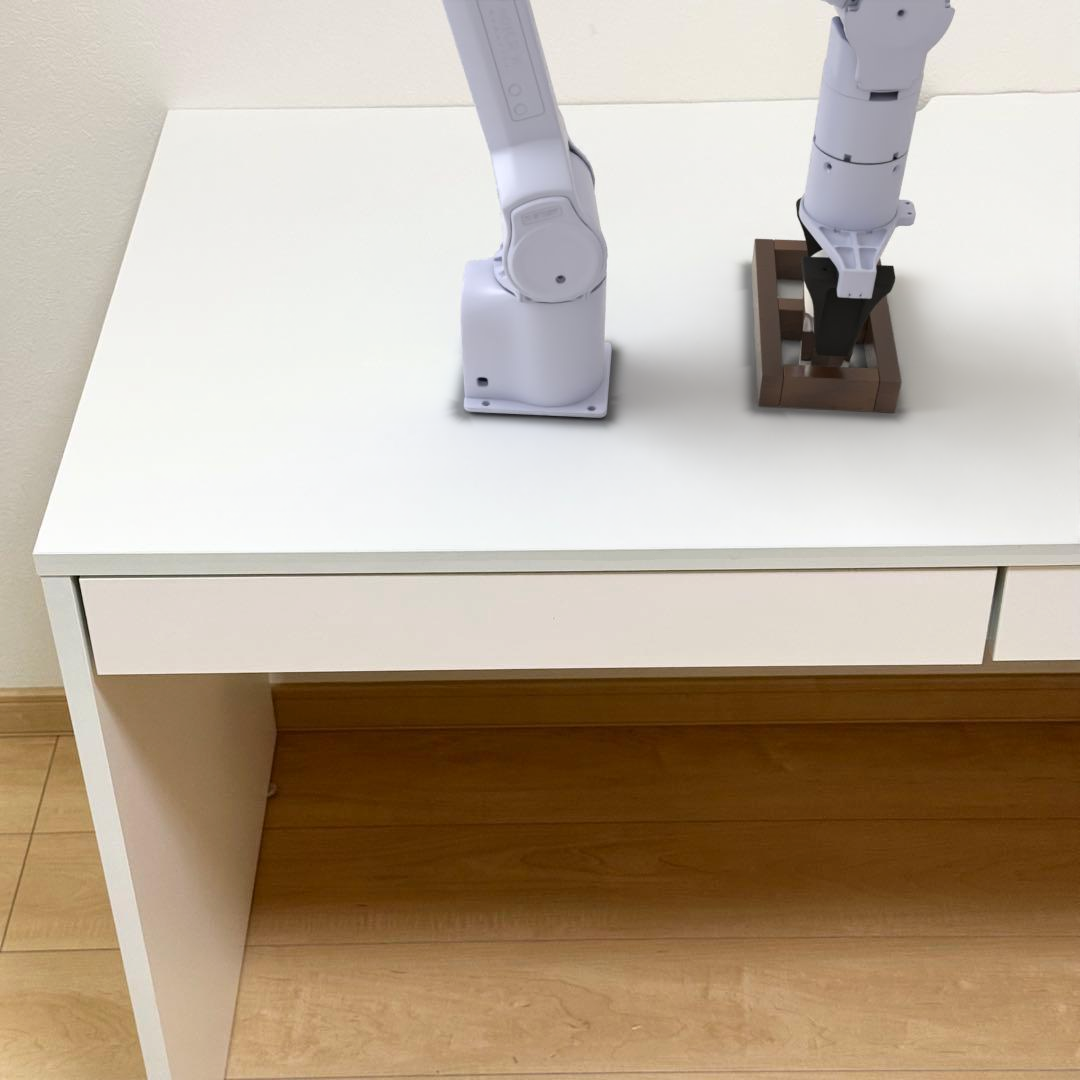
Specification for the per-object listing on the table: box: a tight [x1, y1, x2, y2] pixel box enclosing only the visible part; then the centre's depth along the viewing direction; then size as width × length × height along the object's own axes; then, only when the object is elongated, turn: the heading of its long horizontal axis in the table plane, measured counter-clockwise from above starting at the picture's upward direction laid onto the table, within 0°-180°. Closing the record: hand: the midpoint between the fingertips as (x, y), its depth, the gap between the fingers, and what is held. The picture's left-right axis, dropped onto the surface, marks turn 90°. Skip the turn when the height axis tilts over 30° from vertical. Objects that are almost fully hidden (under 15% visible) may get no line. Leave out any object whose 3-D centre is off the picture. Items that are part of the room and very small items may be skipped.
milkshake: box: [798, 250, 857, 367], centre depth 90 cm, size 4×5×10 cm
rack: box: [750, 238, 903, 414], centre depth 95 cm, size 9×17×3 cm, turn 175°
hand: (828, 327), depth 91 cm, fingers closed on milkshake, 5 cm apart
